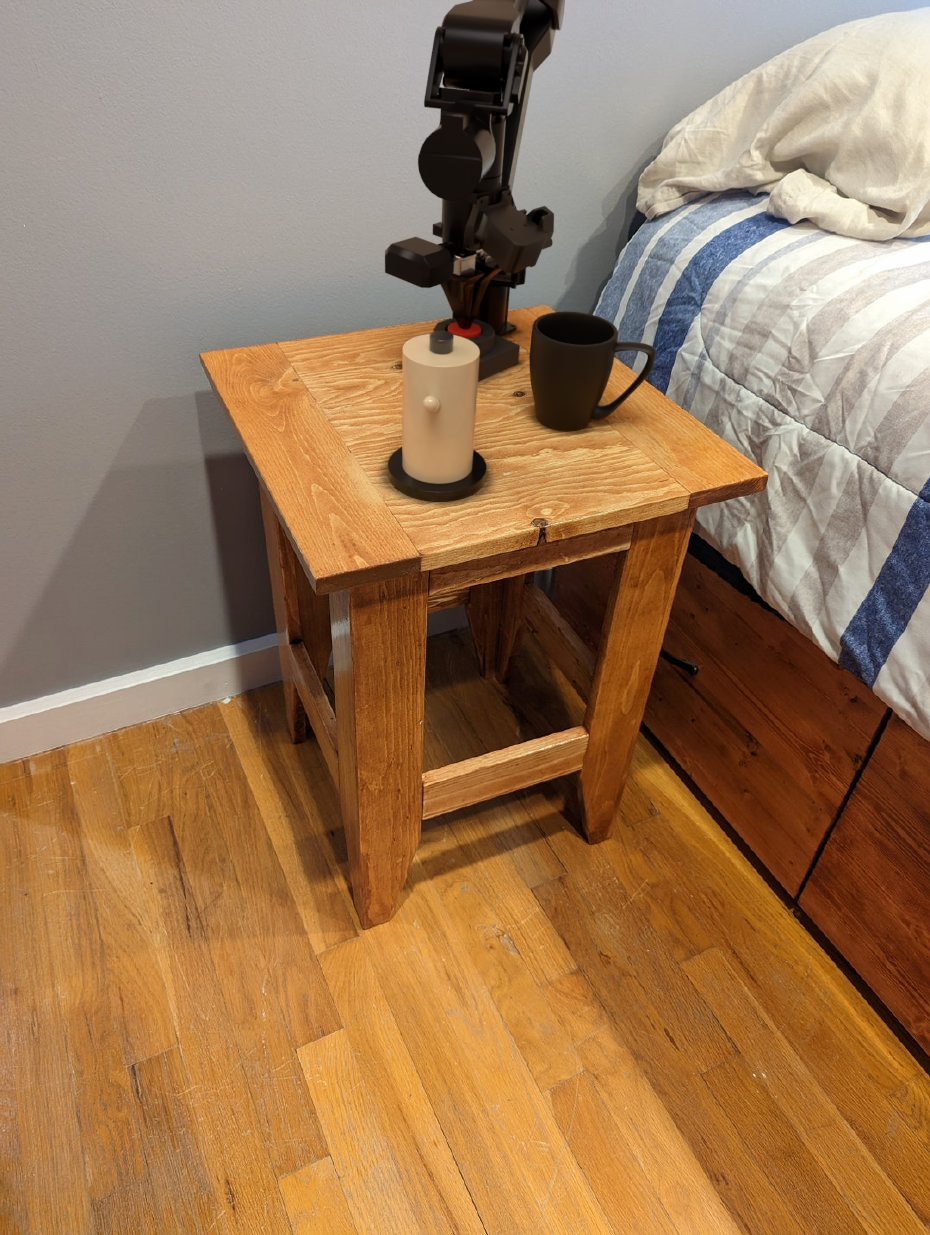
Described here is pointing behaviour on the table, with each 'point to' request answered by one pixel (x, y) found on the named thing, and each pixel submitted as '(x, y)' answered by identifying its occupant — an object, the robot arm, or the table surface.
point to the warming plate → (436, 491)
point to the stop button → (467, 333)
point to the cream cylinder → (439, 406)
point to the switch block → (489, 349)
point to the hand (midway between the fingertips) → (464, 327)
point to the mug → (576, 368)
